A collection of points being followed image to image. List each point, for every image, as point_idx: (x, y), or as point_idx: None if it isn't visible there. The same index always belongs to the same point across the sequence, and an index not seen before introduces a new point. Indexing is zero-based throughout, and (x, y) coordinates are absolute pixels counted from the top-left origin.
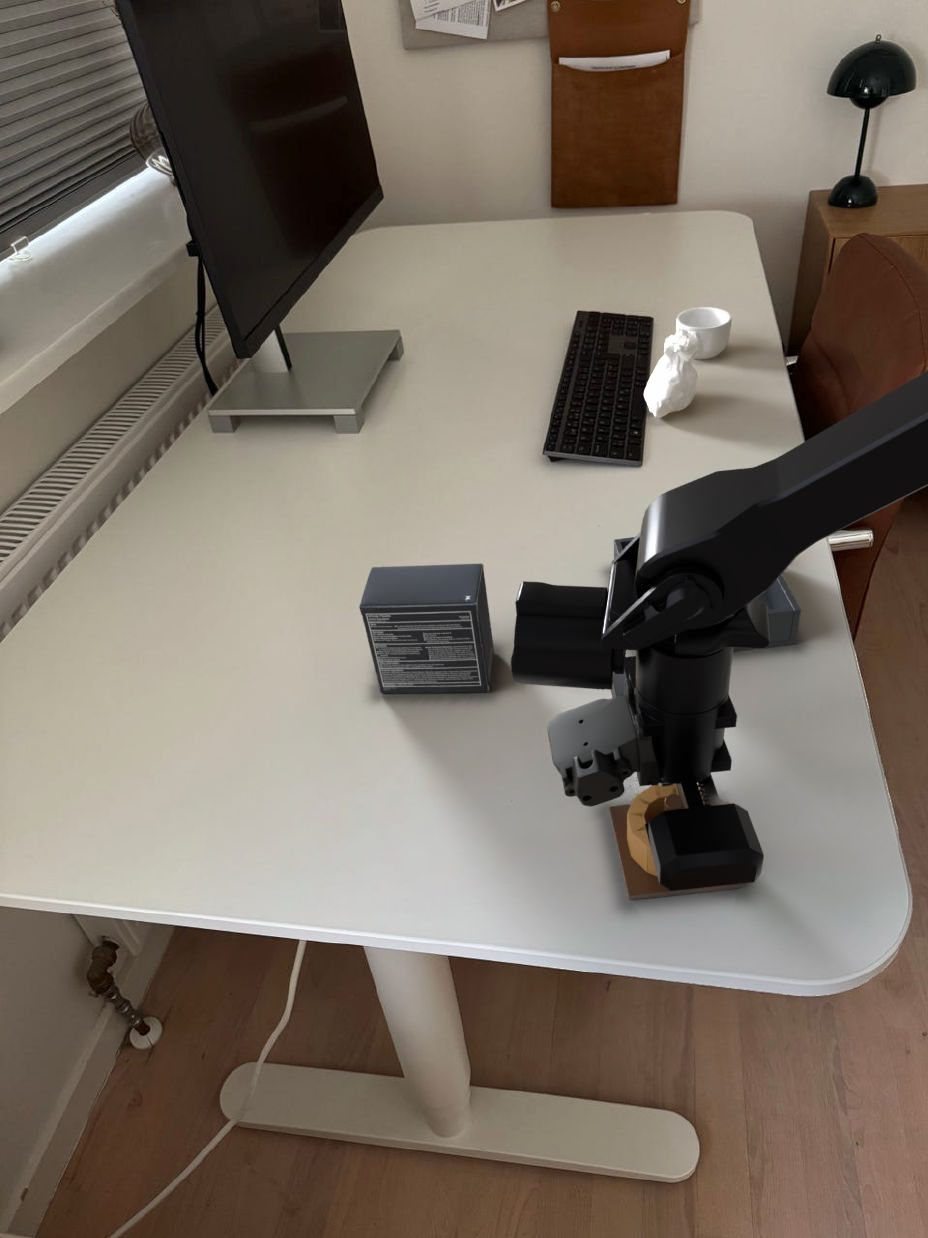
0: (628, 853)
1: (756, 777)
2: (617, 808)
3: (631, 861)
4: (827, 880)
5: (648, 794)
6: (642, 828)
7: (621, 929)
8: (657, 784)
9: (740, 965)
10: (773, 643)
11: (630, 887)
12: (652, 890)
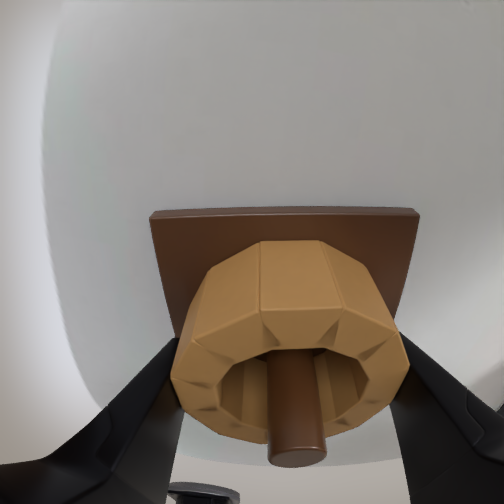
0: (272, 236)
1: (378, 412)
2: (409, 233)
3: (247, 238)
4: (210, 435)
5: (387, 362)
6: (271, 339)
7: (90, 187)
8: (406, 376)
9: (76, 344)
10: (500, 413)
11: (169, 225)
12: (165, 269)
